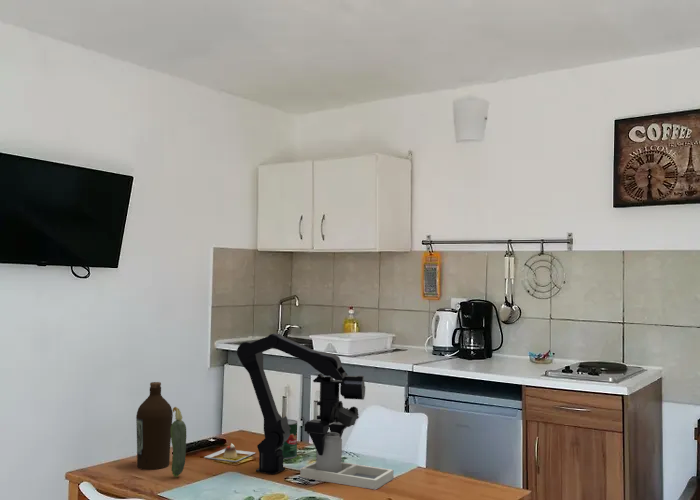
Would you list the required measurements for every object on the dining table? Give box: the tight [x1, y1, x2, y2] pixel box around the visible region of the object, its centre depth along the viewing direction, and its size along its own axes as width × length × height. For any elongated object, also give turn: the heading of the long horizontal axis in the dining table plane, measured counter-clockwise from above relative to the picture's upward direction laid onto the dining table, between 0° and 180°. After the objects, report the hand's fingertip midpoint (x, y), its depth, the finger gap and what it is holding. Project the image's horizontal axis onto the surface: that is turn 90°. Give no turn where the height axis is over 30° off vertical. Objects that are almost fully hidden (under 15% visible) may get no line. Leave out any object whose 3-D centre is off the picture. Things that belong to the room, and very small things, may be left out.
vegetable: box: [171, 406, 187, 478], centre depth 190 cm, size 4×4×20 cm
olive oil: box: [135, 381, 174, 471], centre depth 203 cm, size 11×11×25 cm
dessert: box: [204, 442, 256, 463], centre depth 215 cm, size 12×12×5 cm
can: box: [315, 431, 343, 473], centre depth 195 cm, size 8×8×12 cm
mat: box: [352, 473, 378, 479], centre depth 189 cm, size 10×10×1 cm
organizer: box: [299, 461, 394, 490], centre depth 192 cm, size 24×12×2 cm, turn 63°
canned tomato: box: [280, 418, 298, 460], centre depth 216 cm, size 8×8×11 cm
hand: (328, 451), depth 195 cm, fingers open, 9 cm apart
